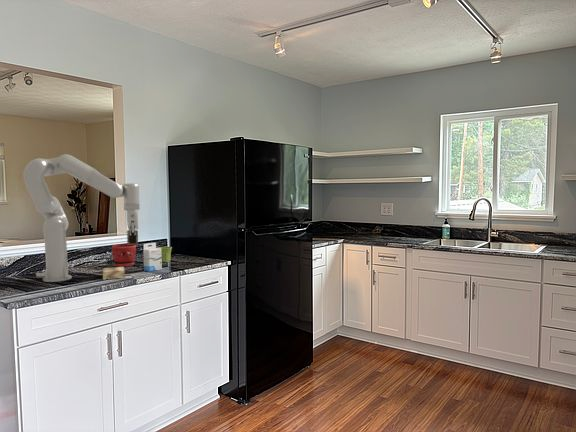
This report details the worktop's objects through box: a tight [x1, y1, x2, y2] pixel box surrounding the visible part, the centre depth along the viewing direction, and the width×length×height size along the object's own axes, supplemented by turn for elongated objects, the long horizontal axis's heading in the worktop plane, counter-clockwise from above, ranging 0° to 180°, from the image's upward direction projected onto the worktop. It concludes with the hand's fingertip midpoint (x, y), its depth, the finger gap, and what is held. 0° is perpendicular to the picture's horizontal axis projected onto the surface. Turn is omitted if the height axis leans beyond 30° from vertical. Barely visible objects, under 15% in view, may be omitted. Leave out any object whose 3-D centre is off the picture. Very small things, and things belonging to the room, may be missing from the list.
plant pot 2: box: [157, 246, 173, 263], centre depth 266 cm, size 9×9×9 cm
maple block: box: [102, 266, 126, 281], centre depth 222 cm, size 10×10×4 cm
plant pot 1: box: [111, 244, 137, 268], centre depth 253 cm, size 13×13×12 cm
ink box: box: [143, 242, 163, 272], centre depth 239 cm, size 9×5×15 cm, turn 145°
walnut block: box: [126, 229, 139, 246], centre depth 227 cm, size 5×5×7 cm
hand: (132, 242), depth 227 cm, fingers closed on walnut block, 5 cm apart
